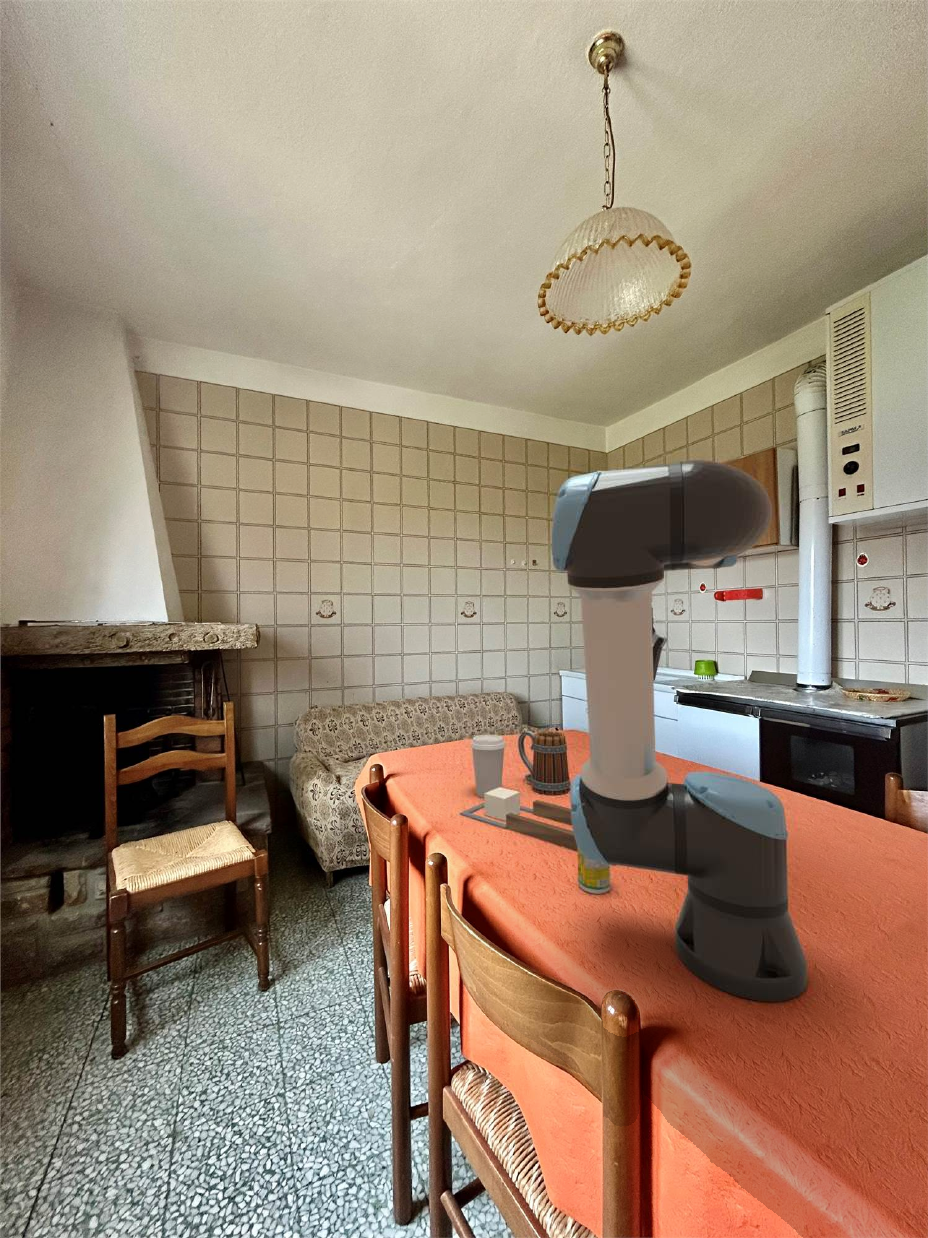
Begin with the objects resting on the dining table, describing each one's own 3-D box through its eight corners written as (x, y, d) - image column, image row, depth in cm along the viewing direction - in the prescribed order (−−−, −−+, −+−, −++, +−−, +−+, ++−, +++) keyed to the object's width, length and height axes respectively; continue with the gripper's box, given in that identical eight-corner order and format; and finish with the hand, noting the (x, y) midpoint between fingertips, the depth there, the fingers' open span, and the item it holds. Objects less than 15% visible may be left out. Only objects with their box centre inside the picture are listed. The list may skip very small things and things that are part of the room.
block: (504, 821, 113) (504, 799, 113) (484, 814, 117) (484, 793, 117) (520, 813, 117) (519, 792, 117) (500, 807, 121) (499, 787, 121)
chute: (599, 858, 94) (598, 842, 94) (506, 828, 109) (506, 815, 109) (625, 837, 103) (625, 822, 103) (536, 812, 118) (536, 800, 118)
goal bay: (505, 829, 108) (505, 827, 108) (459, 814, 117) (459, 813, 117) (537, 812, 118) (537, 810, 118) (493, 799, 127) (493, 798, 127)
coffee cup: (463, 796, 130) (463, 739, 130) (483, 786, 138) (482, 732, 138) (494, 803, 124) (493, 743, 125) (513, 792, 132) (512, 736, 133)
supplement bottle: (608, 897, 80) (607, 838, 81) (575, 891, 82) (574, 833, 83) (612, 881, 85) (611, 826, 86) (581, 876, 87) (579, 821, 88)
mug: (577, 788, 135) (576, 733, 135) (556, 798, 127) (555, 740, 127) (530, 777, 145) (529, 726, 146) (508, 786, 138) (507, 732, 138)
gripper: (670, 604, 104) (673, 716, 104) (611, 607, 113) (613, 710, 112) (659, 603, 99) (662, 721, 98) (597, 606, 107) (600, 715, 106)
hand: (636, 715), depth 105 cm, fingers closed
